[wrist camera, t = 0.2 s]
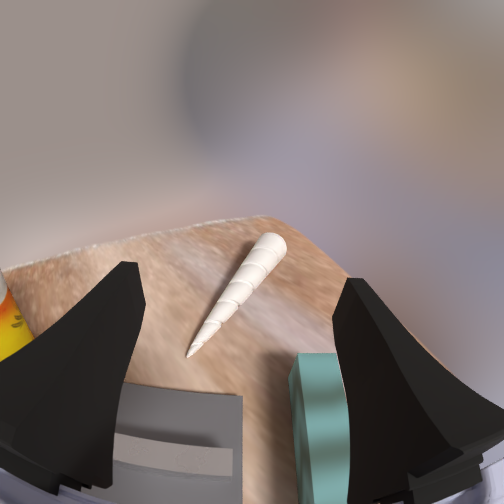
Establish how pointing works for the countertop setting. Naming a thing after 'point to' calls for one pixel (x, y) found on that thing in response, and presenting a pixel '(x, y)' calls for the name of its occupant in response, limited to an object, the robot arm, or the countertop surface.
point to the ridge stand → (175, 448)
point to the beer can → (11, 323)
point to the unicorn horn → (242, 284)
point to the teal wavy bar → (320, 429)
